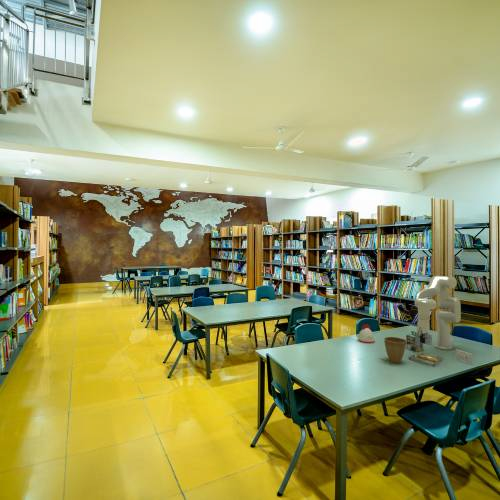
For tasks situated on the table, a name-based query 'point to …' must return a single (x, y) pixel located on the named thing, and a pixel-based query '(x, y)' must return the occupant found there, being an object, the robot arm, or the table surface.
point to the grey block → (427, 338)
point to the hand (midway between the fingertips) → (423, 342)
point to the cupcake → (366, 335)
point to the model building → (413, 342)
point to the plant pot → (395, 348)
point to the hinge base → (426, 359)
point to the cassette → (465, 359)
